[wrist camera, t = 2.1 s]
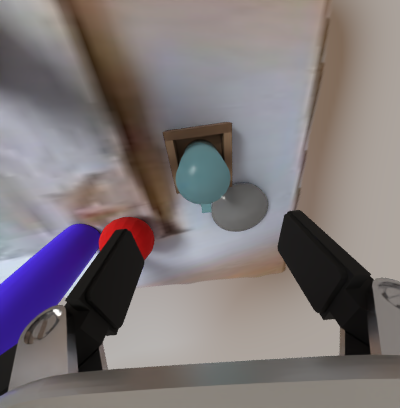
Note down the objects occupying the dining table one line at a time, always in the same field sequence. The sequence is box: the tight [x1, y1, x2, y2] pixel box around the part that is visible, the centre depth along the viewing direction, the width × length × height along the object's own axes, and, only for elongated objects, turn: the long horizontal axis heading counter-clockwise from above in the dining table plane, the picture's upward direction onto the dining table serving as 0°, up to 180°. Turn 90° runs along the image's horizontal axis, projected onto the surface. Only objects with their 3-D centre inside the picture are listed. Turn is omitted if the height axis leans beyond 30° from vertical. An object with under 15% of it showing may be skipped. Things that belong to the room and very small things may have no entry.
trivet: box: [211, 183, 268, 232], centre depth 32 cm, size 12×12×1 cm
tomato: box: [99, 217, 154, 260], centre depth 30 cm, size 10×10×10 cm
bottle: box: [0, 224, 101, 355], centre depth 23 cm, size 8×8×30 cm
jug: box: [176, 139, 230, 213], centre depth 22 cm, size 10×6×11 cm, turn 7°
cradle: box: [163, 122, 232, 194], centre depth 25 cm, size 10×10×4 cm
